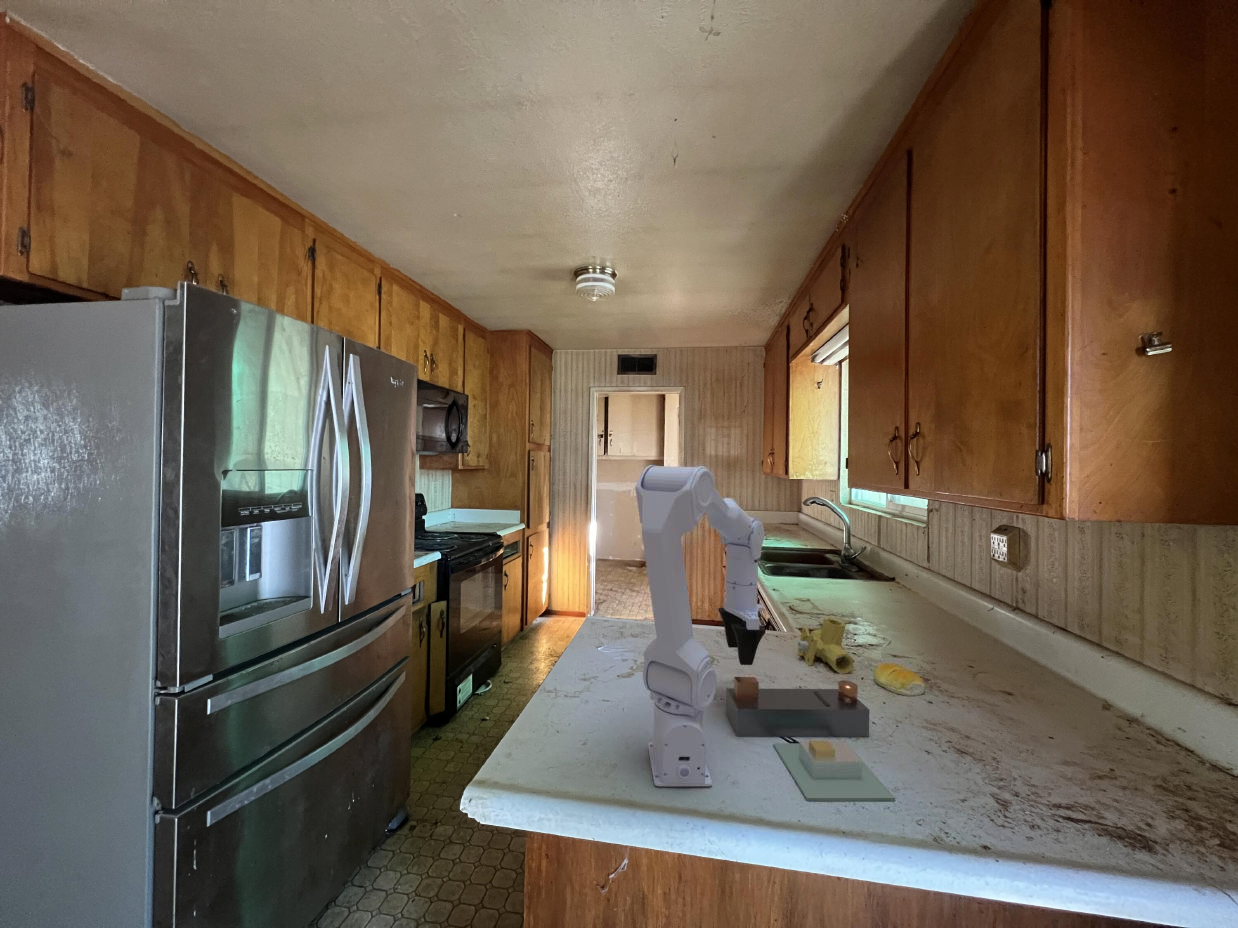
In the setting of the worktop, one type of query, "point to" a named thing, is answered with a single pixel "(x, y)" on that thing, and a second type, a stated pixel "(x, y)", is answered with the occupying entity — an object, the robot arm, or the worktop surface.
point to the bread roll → (898, 680)
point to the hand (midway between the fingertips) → (739, 655)
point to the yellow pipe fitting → (826, 645)
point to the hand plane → (795, 711)
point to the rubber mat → (831, 781)
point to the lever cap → (830, 760)
